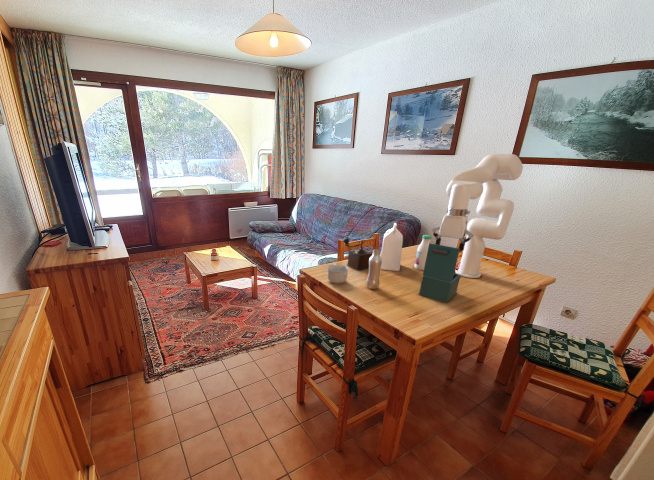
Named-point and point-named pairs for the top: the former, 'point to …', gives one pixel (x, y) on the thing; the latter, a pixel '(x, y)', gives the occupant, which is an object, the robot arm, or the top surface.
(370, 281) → the plastic bottle
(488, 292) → the top surface
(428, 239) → the milk bottle
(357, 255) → the manual coffee grinder
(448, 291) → the cool box
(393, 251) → the milk
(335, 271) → the teacup
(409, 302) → the top surface
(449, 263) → the cool box lid
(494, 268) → the top surface
